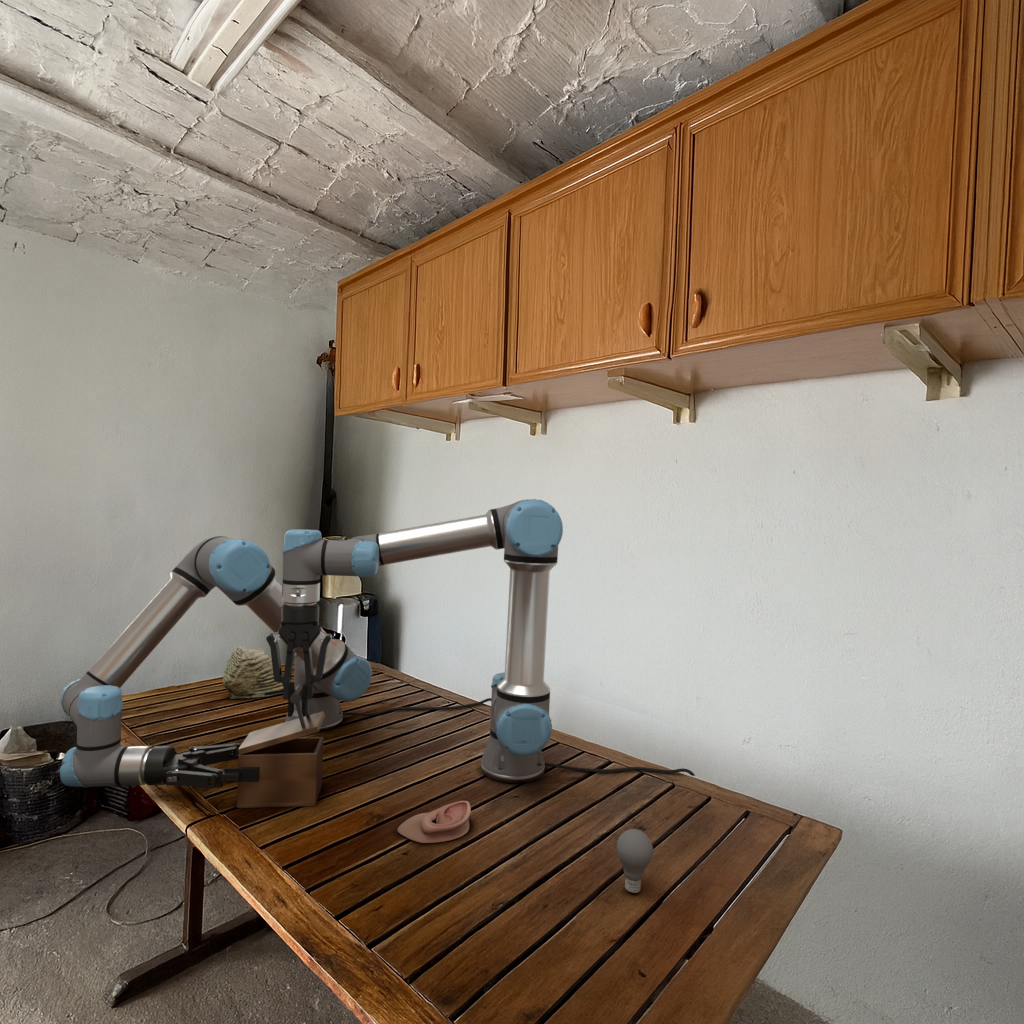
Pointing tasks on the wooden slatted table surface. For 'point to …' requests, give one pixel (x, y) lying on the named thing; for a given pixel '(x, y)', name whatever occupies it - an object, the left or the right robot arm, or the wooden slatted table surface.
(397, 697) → the wooden slatted table surface
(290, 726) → the lid
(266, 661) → the fossil
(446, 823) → the anatomical model
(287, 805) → the chest
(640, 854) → the light bulb
